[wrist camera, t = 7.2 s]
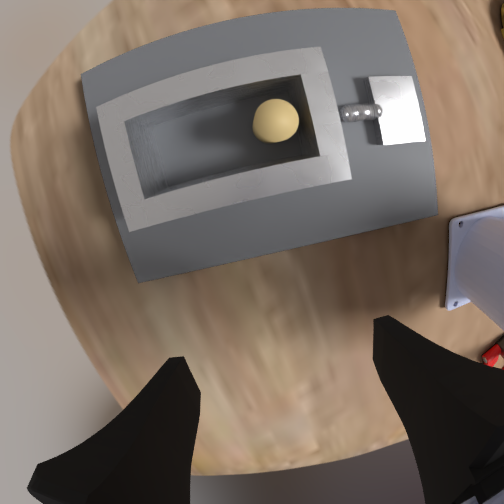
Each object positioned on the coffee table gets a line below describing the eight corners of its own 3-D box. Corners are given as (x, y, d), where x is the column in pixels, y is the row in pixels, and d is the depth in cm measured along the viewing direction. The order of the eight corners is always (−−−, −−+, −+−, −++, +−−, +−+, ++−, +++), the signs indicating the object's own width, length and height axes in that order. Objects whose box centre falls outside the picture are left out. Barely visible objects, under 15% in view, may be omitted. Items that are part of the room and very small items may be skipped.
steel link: (303, 69, 13) (320, 46, 10) (327, 171, 15) (351, 179, 12) (128, 114, 14) (95, 107, 10) (154, 212, 16) (129, 232, 12)
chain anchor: (405, 78, 13) (413, 75, 12) (418, 140, 15) (427, 140, 14) (329, 82, 14) (334, 78, 13) (345, 150, 15) (351, 150, 14)
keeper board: (385, 18, 13) (425, -12, 8) (426, 209, 18) (475, 232, 13) (92, 78, 14) (44, 62, 9) (145, 273, 19) (114, 315, 14)
